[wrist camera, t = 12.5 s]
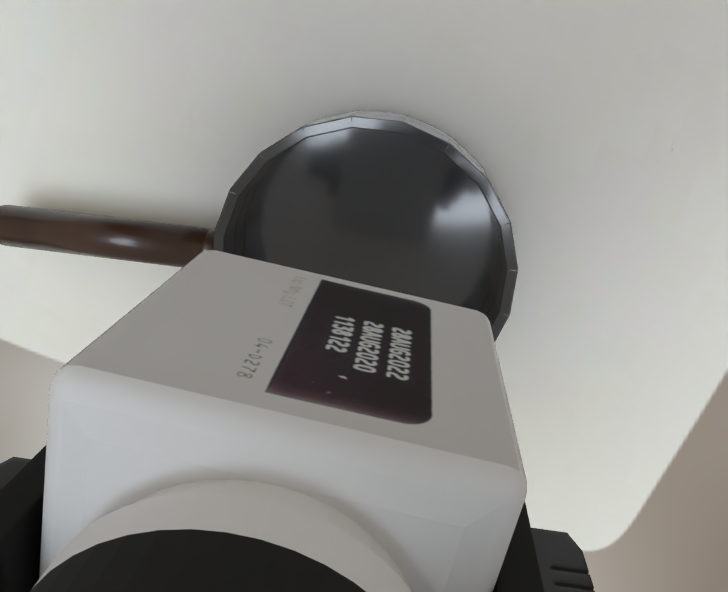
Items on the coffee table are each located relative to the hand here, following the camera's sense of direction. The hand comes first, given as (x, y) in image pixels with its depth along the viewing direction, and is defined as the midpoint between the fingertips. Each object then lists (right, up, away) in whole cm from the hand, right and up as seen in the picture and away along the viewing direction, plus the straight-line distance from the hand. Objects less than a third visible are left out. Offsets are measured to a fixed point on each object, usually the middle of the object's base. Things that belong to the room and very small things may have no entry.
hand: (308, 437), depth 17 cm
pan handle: (-11, +7, +16) cm, 21 cm away
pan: (+2, +6, +18) cm, 19 cm away
